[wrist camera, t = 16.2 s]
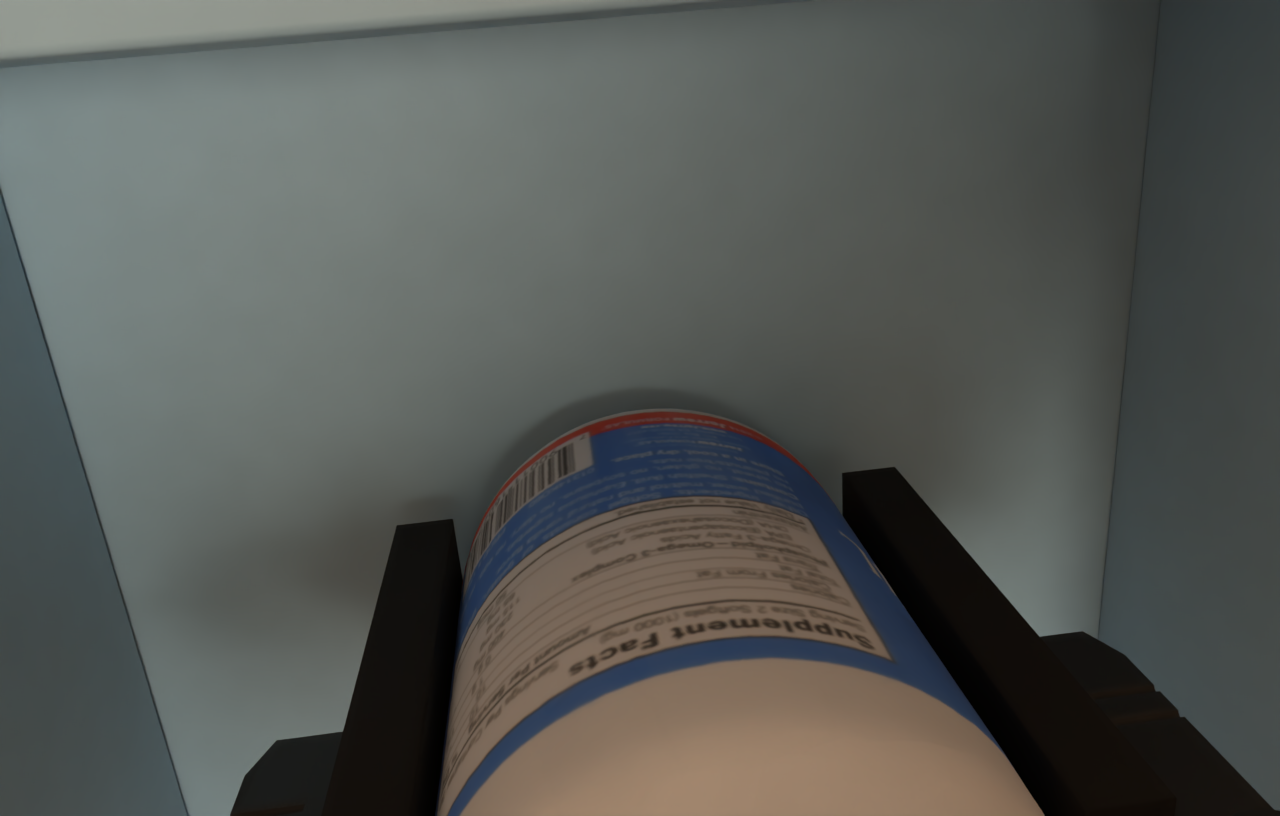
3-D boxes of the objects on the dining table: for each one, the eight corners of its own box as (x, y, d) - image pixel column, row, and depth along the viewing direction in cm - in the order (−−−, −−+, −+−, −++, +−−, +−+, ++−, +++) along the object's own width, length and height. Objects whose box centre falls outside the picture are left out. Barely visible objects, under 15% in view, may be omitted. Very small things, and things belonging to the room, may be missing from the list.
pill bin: (1202, -96, 13) (1624, -177, 8) (1099, 865, 19) (1308, 1165, 14) (-101, 6, 12) (-559, -18, 7) (212, 1001, 18) (90, 1385, 13)
